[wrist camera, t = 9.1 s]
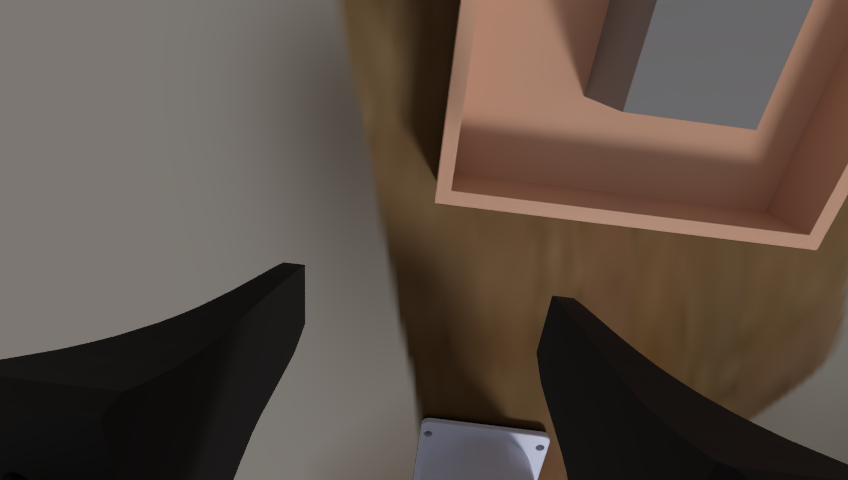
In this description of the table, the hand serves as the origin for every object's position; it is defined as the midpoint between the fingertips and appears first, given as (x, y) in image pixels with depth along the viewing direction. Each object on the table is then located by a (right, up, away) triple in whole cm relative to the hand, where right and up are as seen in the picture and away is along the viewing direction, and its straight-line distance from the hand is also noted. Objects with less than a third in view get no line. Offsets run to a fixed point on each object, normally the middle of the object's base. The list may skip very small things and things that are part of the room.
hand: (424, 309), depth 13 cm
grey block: (+9, +10, +5) cm, 14 cm away
